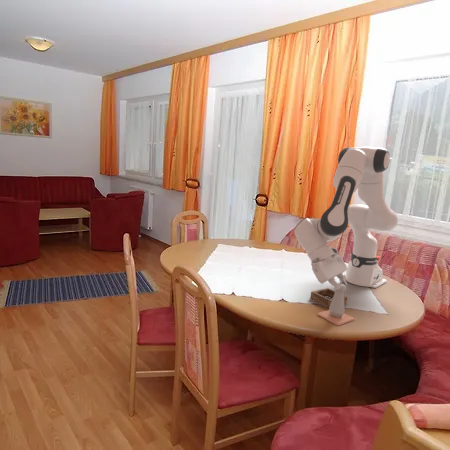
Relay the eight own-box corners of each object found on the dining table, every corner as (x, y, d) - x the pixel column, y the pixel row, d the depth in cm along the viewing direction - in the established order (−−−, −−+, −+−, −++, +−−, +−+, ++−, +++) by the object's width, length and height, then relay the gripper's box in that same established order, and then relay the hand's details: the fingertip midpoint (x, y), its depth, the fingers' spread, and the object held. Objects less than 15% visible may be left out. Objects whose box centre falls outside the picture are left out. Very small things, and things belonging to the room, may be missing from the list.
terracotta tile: (333, 310, 153) (333, 308, 153) (354, 320, 145) (354, 318, 145) (317, 315, 147) (317, 313, 147) (338, 325, 139) (338, 323, 139)
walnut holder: (326, 295, 169) (327, 287, 168) (346, 304, 160) (347, 296, 160) (310, 299, 162) (311, 291, 162) (329, 308, 154) (331, 300, 153)
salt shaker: (332, 310, 150) (336, 280, 147) (345, 315, 146) (350, 284, 144) (325, 315, 146) (330, 283, 143) (339, 320, 142) (344, 288, 139)
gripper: (315, 256, 137) (337, 289, 133) (338, 248, 153) (358, 277, 149) (303, 265, 141) (324, 297, 137) (326, 256, 157) (345, 284, 153)
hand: (342, 287), depth 143 cm, fingers closed on salt shaker, 4 cm apart
